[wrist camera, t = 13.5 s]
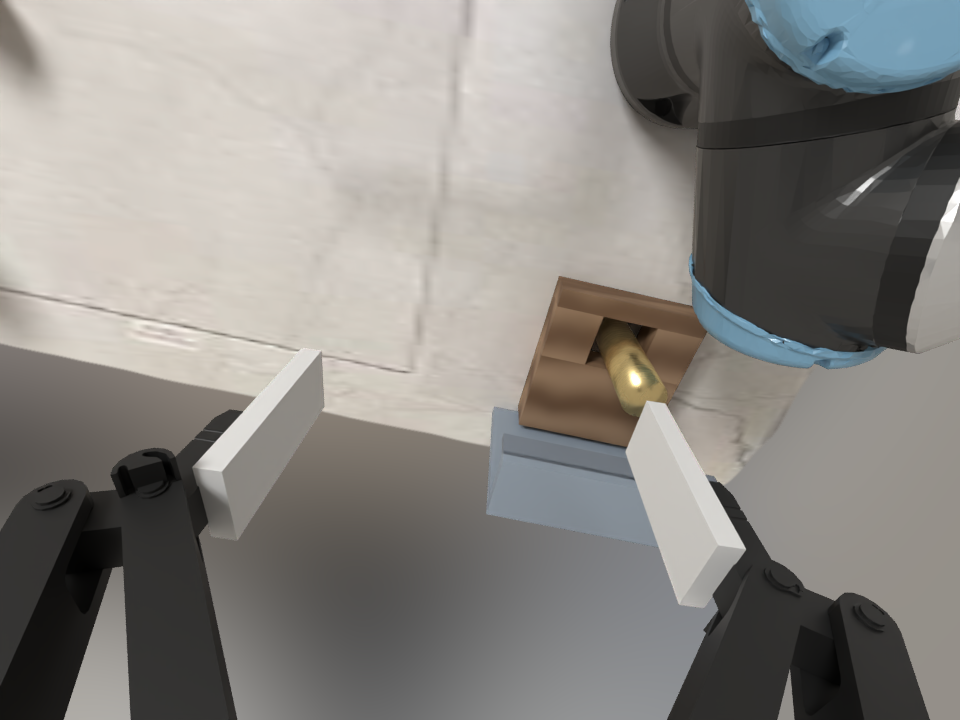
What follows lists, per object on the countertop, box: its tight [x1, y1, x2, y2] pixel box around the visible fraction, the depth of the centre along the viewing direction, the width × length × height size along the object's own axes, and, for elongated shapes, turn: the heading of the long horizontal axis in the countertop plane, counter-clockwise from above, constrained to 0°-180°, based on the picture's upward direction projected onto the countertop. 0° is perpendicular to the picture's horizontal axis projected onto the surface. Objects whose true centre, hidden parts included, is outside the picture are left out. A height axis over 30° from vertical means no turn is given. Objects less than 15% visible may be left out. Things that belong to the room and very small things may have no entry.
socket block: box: [518, 276, 707, 447], centre depth 49 cm, size 18×16×4 cm
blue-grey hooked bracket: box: [486, 407, 717, 548], centre depth 48 cm, size 7×22×16 cm, turn 78°
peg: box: [595, 317, 668, 417], centre depth 43 cm, size 4×4×14 cm
